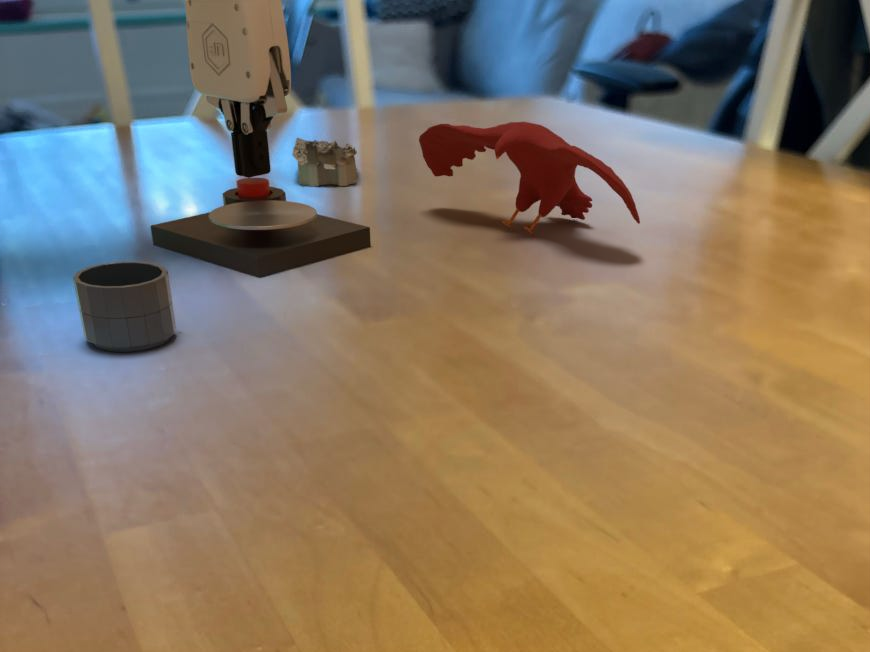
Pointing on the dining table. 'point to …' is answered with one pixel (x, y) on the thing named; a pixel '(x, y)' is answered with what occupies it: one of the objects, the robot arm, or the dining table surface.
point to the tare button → (253, 187)
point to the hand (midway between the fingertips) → (253, 173)
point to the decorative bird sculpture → (524, 164)
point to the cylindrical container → (125, 305)
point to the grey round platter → (262, 215)
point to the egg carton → (325, 163)
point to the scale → (260, 240)
